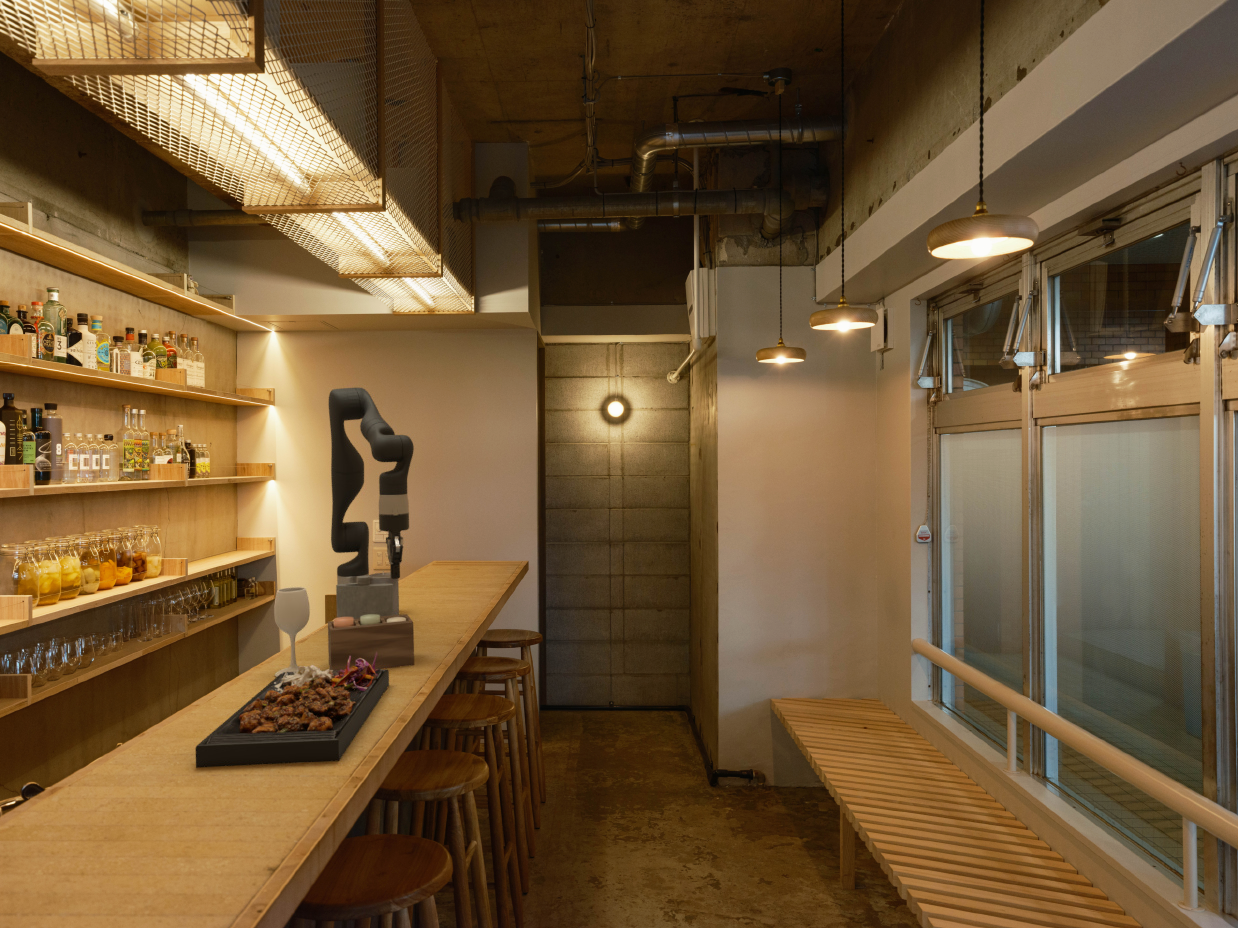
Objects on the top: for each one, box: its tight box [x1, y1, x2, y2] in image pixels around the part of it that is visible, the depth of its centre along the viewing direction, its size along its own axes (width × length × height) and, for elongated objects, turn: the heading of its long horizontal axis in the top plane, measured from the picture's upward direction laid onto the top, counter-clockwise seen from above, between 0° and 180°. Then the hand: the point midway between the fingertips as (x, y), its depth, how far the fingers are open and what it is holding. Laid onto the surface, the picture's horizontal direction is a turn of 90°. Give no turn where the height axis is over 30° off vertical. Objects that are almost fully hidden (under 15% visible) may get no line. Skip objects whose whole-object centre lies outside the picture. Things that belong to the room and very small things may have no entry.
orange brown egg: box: [333, 617, 354, 628], centre depth 204 cm, size 5×5×4 cm
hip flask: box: [335, 576, 394, 619], centre depth 224 cm, size 16×4×20 cm, turn 87°
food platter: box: [194, 653, 390, 769], centre depth 165 cm, size 45×25×10 cm, turn 5°
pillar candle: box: [369, 570, 400, 615], centre depth 265 cm, size 10×10×15 cm
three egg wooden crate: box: [327, 613, 415, 671], centre depth 206 cm, size 11×20×11 cm, turn 113°
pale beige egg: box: [387, 617, 406, 623], centre depth 209 cm, size 5×5×4 cm
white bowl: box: [273, 586, 311, 678], centre depth 199 cm, size 9×9×21 cm
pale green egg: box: [360, 614, 380, 625], centre depth 206 cm, size 5×5×4 cm
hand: (395, 578), depth 208 cm, fingers closed
